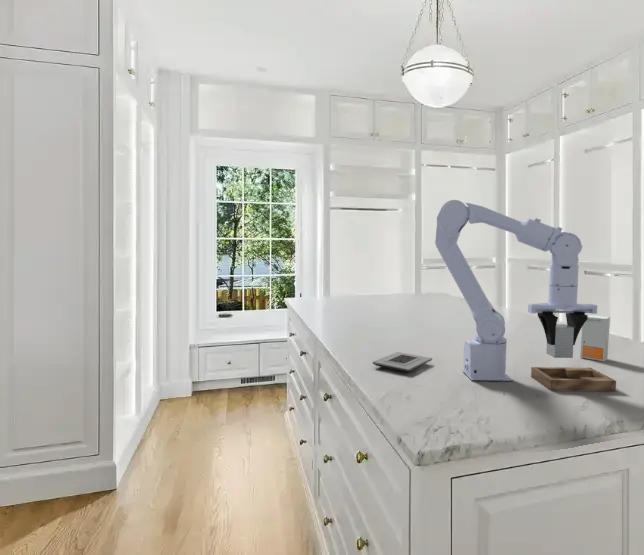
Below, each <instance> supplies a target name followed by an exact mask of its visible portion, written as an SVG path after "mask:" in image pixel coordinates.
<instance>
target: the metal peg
mask: <svg viewBox="0 0 644 555" xmlns="http://www.w3.org/2000/svg"><path fill="white" fill-rule="evenodd" d="M573 338H574V327H571V326H568V325H567V323H566V324H564V323H561V324H559V323H556V328H555V342H554V345H550V344H548V343H547V342H546V354H547V355H549V356H551V357H552V358H555V359H558V358H559V359H561V358H562V359H573V357H574V345H573Z"/></svg>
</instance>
